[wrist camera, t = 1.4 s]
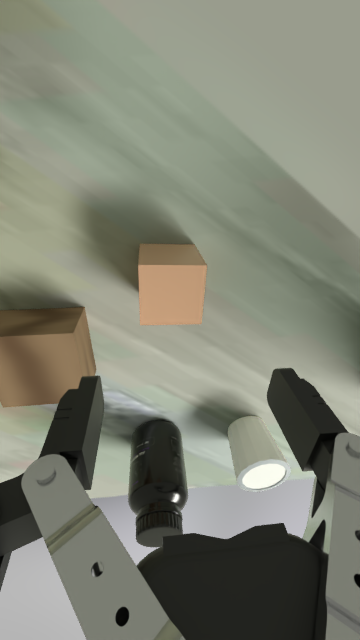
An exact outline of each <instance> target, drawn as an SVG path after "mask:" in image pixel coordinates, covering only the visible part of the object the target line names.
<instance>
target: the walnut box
mask: <svg viewBox="0 0 360 640" xmlns="http://www.w3.org/2000/svg"><path fill="white" fill-rule="evenodd" d="M95 372H96V365H95V360H94V355H93V350H92V344H91V339H90V334H89V328H88V323H87V318H86V312H85V307H74V308H49V309H25V310H0V402H1V404H2V406H3V407H15V406H29V405H42V404H56V403H59V401H60V399H61V397H62V396H63V395H64V394H65V393H66V392H67V391H68V390H69V389H78V387H79V383H80V380H81V377H82V376H95Z"/></svg>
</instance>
